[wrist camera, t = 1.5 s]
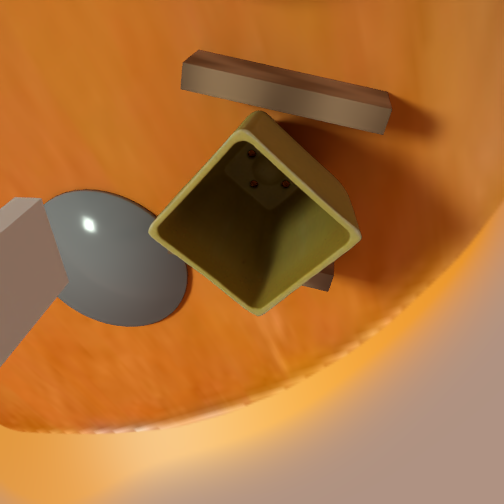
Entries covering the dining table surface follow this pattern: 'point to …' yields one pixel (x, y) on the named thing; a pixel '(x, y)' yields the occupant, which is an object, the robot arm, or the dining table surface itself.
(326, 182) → the flower pot
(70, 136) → the dining table surface
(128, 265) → the grey round disc
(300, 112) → the wooden blocks
